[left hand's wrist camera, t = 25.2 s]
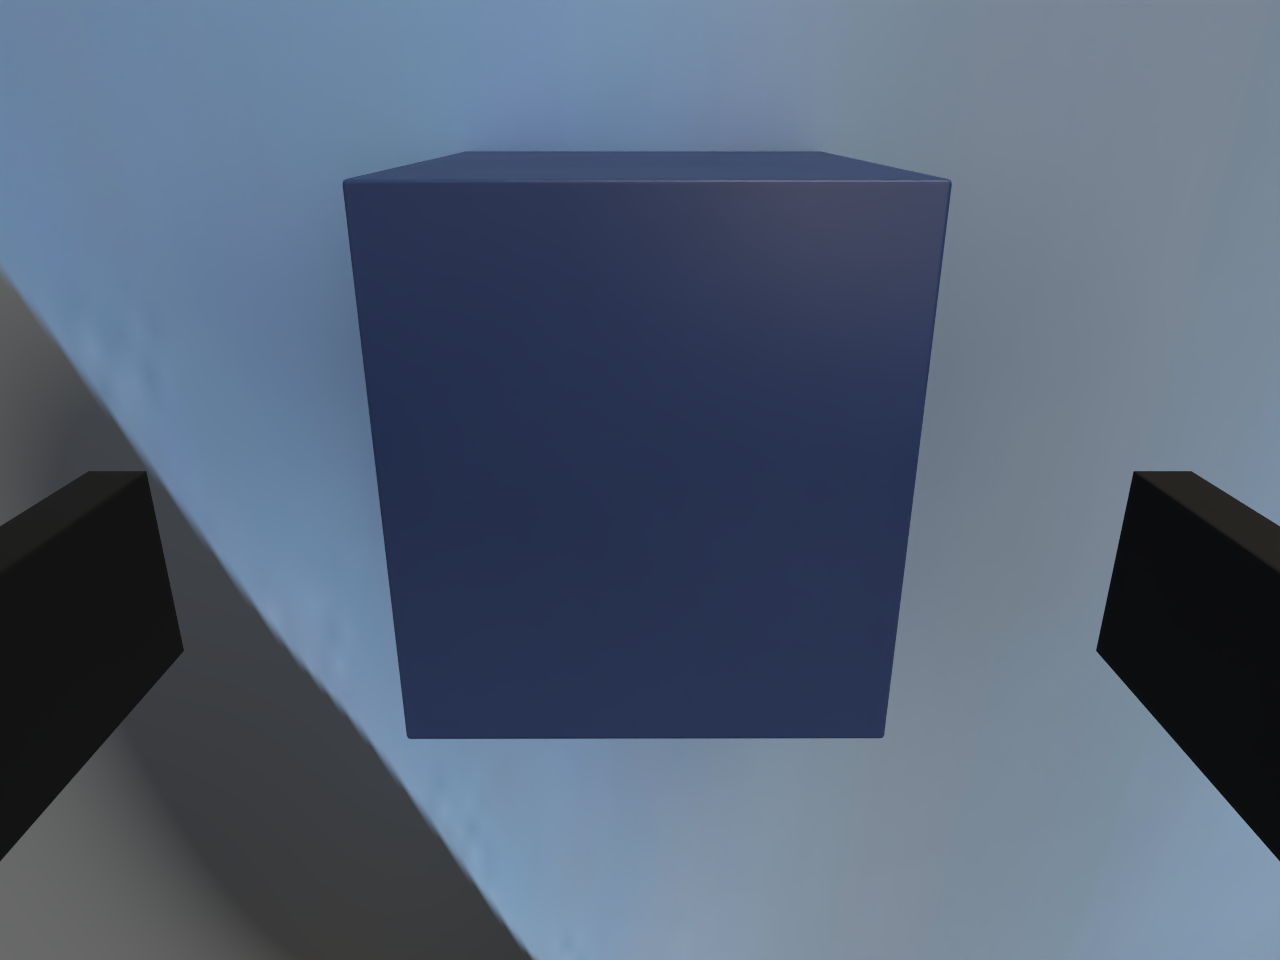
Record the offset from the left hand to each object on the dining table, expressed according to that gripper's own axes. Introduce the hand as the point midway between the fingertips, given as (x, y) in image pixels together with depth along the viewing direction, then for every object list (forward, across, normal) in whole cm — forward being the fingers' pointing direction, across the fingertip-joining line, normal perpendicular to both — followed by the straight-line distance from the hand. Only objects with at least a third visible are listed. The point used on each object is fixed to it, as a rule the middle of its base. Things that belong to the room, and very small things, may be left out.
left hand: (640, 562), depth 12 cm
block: (+11, 0, 0) cm, 11 cm away
